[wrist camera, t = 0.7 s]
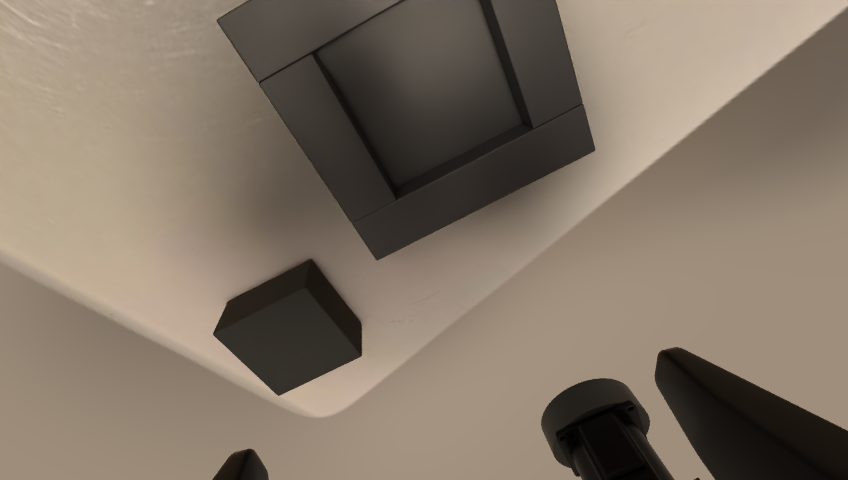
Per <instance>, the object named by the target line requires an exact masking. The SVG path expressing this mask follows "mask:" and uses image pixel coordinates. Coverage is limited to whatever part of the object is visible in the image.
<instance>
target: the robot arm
mask: <svg viewBox="0 0 848 480" xmlns="http://www.w3.org/2000/svg"><path fill="white" fill-rule="evenodd" d="M655 381H656V384H657V387H658V389H659V390H660V392H661V394H662V395H663V397H664V399H665V400H666V402H667V404H668V405H669V407H670V409H671V410H672V412H673V414H674V416H675V417H676V419H677V421H678V422H679V424H680V426H681V428H682V429H683V431H684V432H685V434H686V436H687V438H688V440H689V441H690V443H691V445H692V446H693V448H694V450H695V451H696V453H697V454H698V456H699V457H700V459H701V460H702V462H703V463H704V464H705V466H706V467H707V469H708V470H709V471H710V473H711V474H712V476H713V477H714V478H715V480H848V431H847V430H845V429H843V428H841V427H839V426H837V425H835V424H833V423H831V422H829V421H827V420H825V419H823V418H821V417H819V416H817V415H815V414H813V413H811V412H809V411H807V410H805V409H803V408H801V407H799V406H797V405H795V404H793V403H790V402H789V401H787V400H785V399H783V398H780V397H779V396H777V395H775V394H772V393H771V392H769V391H766V390H764V389H763V388H760V387H759V386H757V385H755V384H753V383H751V382H749V381H746V380H745V379H742V378H740V377H739V376H737V375H735V374H732V373H730V372H728V371H726V370H724V369H722V368H720V367H718V366H716V365H714V364H712V363H710V362H708V361H706V360H704V359H702V358H700V357H698V356H696V355H694V354H692V353H690V352H688V351H686V350H684V349H682V348H678V347H675V348H670V349H666V350H662V351H660V352H659V354H658V357H657V364H656V370H655ZM554 436H555V438H556V440H557V442H558V444H559V446H560V448H561V450H562V452H563V453H564V455H565V457H566V459H567V461H568V463H569V465H570V467H571V468H572V470H573V472H574V474H575V475H576V476H581V478H582V480H674V478H673V477H672V475H671V474H670V473H669V471H668V470H667V468H666V467H665V465H664V464H663V462H662V461H661V460H660V458H659V457H658V455H657V454H656V452H655V451H654V449H653V448H652V447H651V445H650V444H649V442H648V440H647V437H646V434H645V431H644V428H643V424H642V421H641V418H640V415H639V412H638V409H637V406H636V405H635V403H634V402H633V401H632V400H627V401H625V402H622V403H620V404H618V405H615V406H613V407H611V408H608V409H606V410H604V411H602V412H599V413H597V414H595V415H592V416H590V417H588V418H585V419H583V420H581V421H579V422H576V423H574V424H572V425H569V426H567V427H565V428H562V429H560V430H558V431H556V433H555V434H554ZM213 480H269V479H268V473H267V470H266V468H265V466H264V465H263V463H262V461H261V460H260V458H259V457H258V455H257V453H256V452H255V451H254V450H252V449H247V450H242V451H238V452H235V453H233V454H232V455H231V456H230V457H229V458H228V459H227V461H226V462H225V463H224V465H223V466H222V467H221V469H220V470H219V471H218V473H217V474H216V476H215V477H214V478H213ZM694 480H700V479H699V478H696V479H694Z"/></svg>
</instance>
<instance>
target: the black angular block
mask: <svg viewBox="0 0 848 480" xmlns="http://www.w3.org/2000/svg"><path fill="white" fill-rule="evenodd" d="M213 335H214V336H215V337H216V338H217V339H218V340H219V341H220V342H221V343H222V344H224V345H225V346H226V347H227V348H228V349H229V350H230V351H231V352H232V353H233V354H234V355H235V356H236V357H237V358H238V359H240V360H241V361H242V362H243V363H244V364H245V365H246V366H247V367H248V368H249V369H250V370H251V371H252V372H253V373H254V374H255V375H257V376H258V377H259V378H260V379H261V380H262V381H263V382H264V383H265V384H266V385H267V386H268V387H269V388H270V389H271V390H272V391H274V392H275V393H276V394H277V395H278V396H280V395H282V394H284V393H286V392H288V391H290V390H292V389H294V388H296V387H298V386H300V385H303V384H305V383H307V382H309V381H311V380H313V379H315V378H317V377H319V376H321V375H323V374H325V373H328V372H330V371H332V370H334V369H336V368H338V367H340V366H342V365H344V364H346V363H348V362H350V361H353V360H355V359H357V358H359V357H361V356H362V327H361V323H360V322H359V321H358V319H357V318H356V317H355V315H354V314H353V313H352V312H351V310H350V309H349V308H348V306H347V305H346V304H345V303H344V301H343V300H342V299H341V297H340V296H339V295H338V294H337V292H336V291H335V290H334V288H333V287H332V286H331V284H330V283H329V282H328V281H327V279H326V278H325V277H324V275H323V274H322V273H321V272H320V270H319V269H318V268H317V266H316V265H315V264H314V263H313V261H312V260H309V261H307V262H305V263H303V264H301V265H299V266H297V267H295V268H293V269H291V270H289V271H287V272H285V273H283V274H282V275H280V276H278V277H276V278H274V279H272V280H270V281H268V282H266V283H264V284H262V285H260V286H258V287H256V288H254V289H252V290H250V291H248V292H246V293H245V294H243V295H241V296H239V297H237V298H235V299H233V300H231V301H229V302H228V303H227V305H226V307H225V309H224V311H223V313H222V316H221V318H220V320H219V322H218V324H217V326H216V328H215V331H214V333H213Z"/></svg>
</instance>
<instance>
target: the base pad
mask: <svg viewBox="0 0 848 480" xmlns="http://www.w3.org/2000/svg"><path fill="white" fill-rule="evenodd" d="M217 23H218V24H219V25H220V27H221V28H222V30H223V31H224V33H225V34H226V36H227V37H228V39H229V40H230V42H231V43H232V45H233V46H234V48H235V49H236V51H237V52H238V54H239V55H240V57H241V58H242V60H243V61H244V63H245V64H246V66H247V67H248V69H249V70H250V72H251V73H252V75H253V76H254V78H255V79H256V81H257V82H258V83H259V85H260V87H261V88H262V90H263V91H264V93H265V94H266V96H267V97H268V99H269V100H270V102H271V103H272V105H273V106H274V108H275V109H276V111H277V112H278V114H279V115H280V117H281V118H282V120H283V121H284V123H285V124H286V126H287V127H288V129H289V130H290V132H291V133H292V135H293V136H294V138H295V139H296V141H297V142H298V144H299V145H300V147H301V148H302V150H303V151H304V153H305V154H306V156H307V157H308V159H309V160H310V162H311V163H312V165H313V166H314V168H315V169H316V171H317V172H318V174H319V175H320V177H321V178H322V180H323V181H324V183H325V184H326V186H327V187H328V189H329V190H330V192H331V193H332V195H333V196H334V198H335V199H336V201H337V202H338V204H339V205H340V207H341V208H342V209H343V211H344V212H345V214H346V215H347V217H348V218H349V220H350V221H351V223H352V224H353V226H354V227H355V229H356V230H357V232H358V233H359V235H360V236H361V238H362V239H363V241H364V242H365V244H366V245H367V247H368V248H369V250H370V251H371V253H372V254H373V256H374V257H375V259H376V260H379V259H381V258H383V257H385V256H387V255H389V254H391V253H393V252H395V251H397V250H399V249H401V248H403V247H405V246H407V245H409V244H411V243H413V242H415V241H417V240H419V239H421V238H423V237H425V236H427V235H429V234H431V233H433V232H435V231H437V230H439V229H441V228H443V227H445V226H447V225H449V224H451V223H453V222H455V221H457V220H459V219H461V218H463V217H465V216H467V215H469V214H471V213H473V212H475V211H477V210H478V209H480V208H482V207H484V206H486V205H488V204H490V203H492V202H494V201H496V200H498V199H500V198H502V197H504V196H506V195H508V194H510V193H512V192H514V191H516V190H518V189H520V188H522V187H524V186H526V185H528V184H530V183H532V182H534V181H536V180H538V179H540V178H542V177H544V176H546V175H548V174H550V173H552V172H554V171H556V170H558V169H560V168H562V167H564V166H566V165H568V164H570V163H572V162H574V161H576V160H578V159H580V158H582V157H584V156H586V155H588V154H590V153H592V152H594V151H595V146H594V143H593V139H592V135H591V131H590V128H589V124H588V120H587V116H586V112H585V109H584V105H583V104H582V103H583V102H582V98H581V94H580V90H579V87H578V83H577V79H576V75H575V72H574V68H573V64H572V60H571V57H570V53H569V49H568V45H567V41H566V38H565V34H564V30H563V26H562V23H561V19H560V15H559V11H558V8H557V4H556V0H248V1H247V2H245V3H243V4H242V5H240V6H238V7H237V8H235V9H233V10H231V11H230V12H228V13H226V14H225V15H223V16H221V17H220V18H218V19H217Z"/></svg>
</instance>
